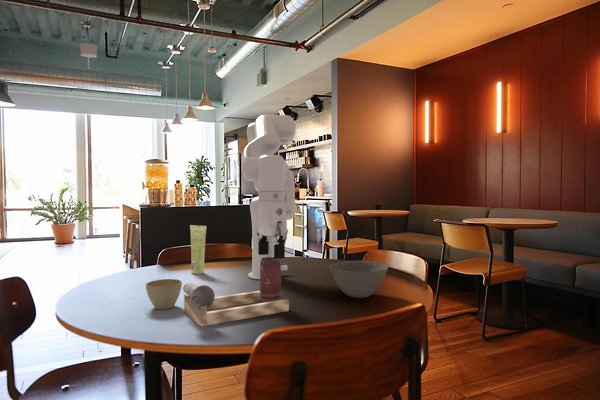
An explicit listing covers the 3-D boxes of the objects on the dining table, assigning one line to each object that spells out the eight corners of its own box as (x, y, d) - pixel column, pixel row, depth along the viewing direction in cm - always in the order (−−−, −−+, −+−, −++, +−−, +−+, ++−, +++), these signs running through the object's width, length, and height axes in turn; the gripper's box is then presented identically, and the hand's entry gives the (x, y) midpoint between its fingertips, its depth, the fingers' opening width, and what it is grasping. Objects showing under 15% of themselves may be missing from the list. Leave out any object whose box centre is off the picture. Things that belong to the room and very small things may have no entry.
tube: (203, 271, 171) (203, 224, 171) (206, 273, 166) (206, 225, 166) (190, 272, 169) (190, 225, 168) (192, 274, 164) (192, 226, 164)
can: (278, 309, 117) (278, 260, 117) (257, 308, 118) (257, 259, 118) (283, 303, 123) (284, 257, 123) (263, 302, 124) (263, 256, 124)
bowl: (352, 286, 145) (353, 258, 145) (399, 296, 132) (399, 265, 132) (316, 296, 132) (316, 265, 132) (364, 308, 119) (364, 273, 119)
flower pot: (151, 302, 124) (151, 279, 123) (185, 302, 124) (185, 278, 124) (141, 312, 114) (141, 286, 114) (178, 311, 114) (178, 286, 114)
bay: (265, 299, 128) (266, 267, 128) (292, 312, 114) (292, 276, 114) (176, 313, 113) (176, 277, 113) (194, 330, 100) (194, 289, 99)
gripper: (297, 197, 115) (297, 259, 115) (268, 197, 129) (268, 252, 129) (274, 197, 111) (274, 261, 111) (246, 197, 125) (246, 253, 125)
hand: (271, 256), depth 120 cm, fingers open, 9 cm apart
